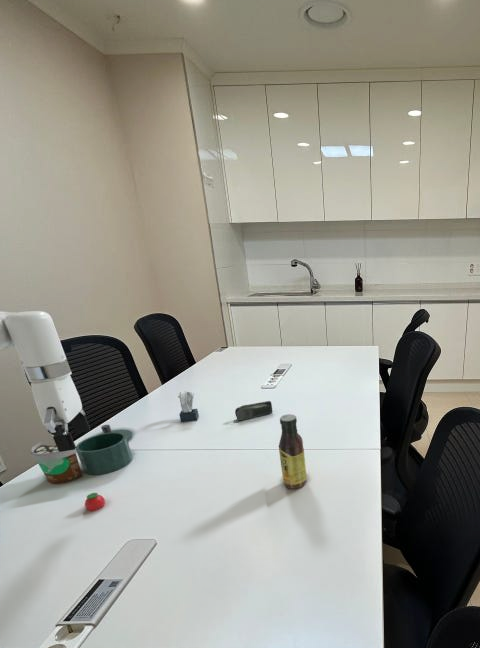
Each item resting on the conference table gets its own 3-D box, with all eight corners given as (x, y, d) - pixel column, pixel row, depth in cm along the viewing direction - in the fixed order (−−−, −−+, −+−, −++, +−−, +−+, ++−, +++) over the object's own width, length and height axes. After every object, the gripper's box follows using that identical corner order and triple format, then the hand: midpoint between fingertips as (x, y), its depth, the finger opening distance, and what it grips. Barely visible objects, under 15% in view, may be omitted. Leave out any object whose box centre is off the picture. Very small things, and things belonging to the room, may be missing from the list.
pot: (77, 478, 109) (68, 455, 106) (92, 457, 120) (84, 436, 117) (126, 470, 112) (119, 447, 109) (136, 450, 123) (130, 429, 120)
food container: (31, 483, 107) (16, 452, 103) (52, 472, 113) (39, 441, 109) (66, 488, 104) (53, 456, 100) (86, 476, 110) (74, 445, 106)
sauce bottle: (282, 479, 106) (273, 413, 98) (305, 475, 108) (297, 409, 100) (285, 492, 100) (276, 423, 92) (309, 487, 102) (302, 419, 94)
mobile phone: (269, 399, 149) (230, 407, 141) (272, 401, 146) (232, 410, 138) (270, 411, 151) (232, 420, 143) (273, 413, 148) (234, 423, 140)
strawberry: (85, 517, 93) (79, 501, 91) (91, 507, 97) (85, 492, 95) (104, 513, 94) (98, 498, 92) (109, 504, 98) (104, 489, 96)
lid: (80, 453, 122) (74, 438, 120) (94, 435, 134) (88, 421, 132) (127, 446, 126) (122, 431, 124) (137, 429, 138) (132, 415, 135)
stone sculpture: (199, 414, 149) (193, 387, 145) (196, 422, 142) (189, 394, 138) (184, 415, 148) (177, 388, 144) (179, 424, 141) (172, 396, 137)
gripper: (44, 362, 90) (70, 428, 97) (7, 385, 75) (40, 461, 82) (82, 358, 92) (104, 423, 99) (52, 380, 77) (81, 455, 84)
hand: (75, 440), depth 91 cm, fingers open, 9 cm apart
